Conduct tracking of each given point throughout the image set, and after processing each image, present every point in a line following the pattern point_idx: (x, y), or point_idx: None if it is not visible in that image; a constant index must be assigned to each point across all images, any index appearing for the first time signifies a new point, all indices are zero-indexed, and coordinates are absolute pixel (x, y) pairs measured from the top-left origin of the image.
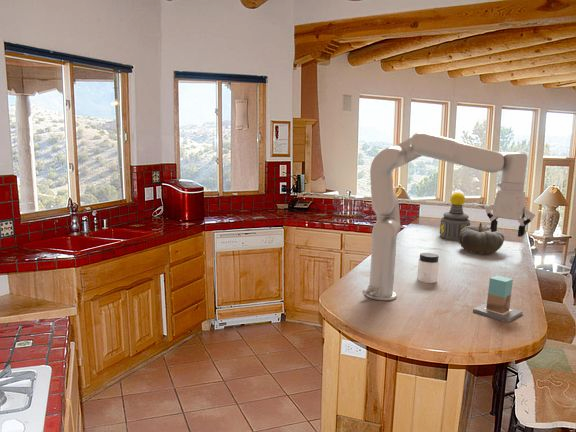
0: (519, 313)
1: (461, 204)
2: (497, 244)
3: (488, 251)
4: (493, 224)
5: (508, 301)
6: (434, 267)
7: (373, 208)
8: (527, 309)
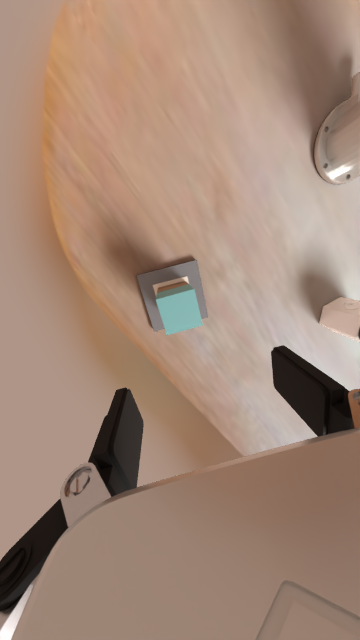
0: (150, 319)
1: None
2: None
3: None
4: (309, 376)
5: None
6: (349, 323)
7: None
8: (165, 354)
